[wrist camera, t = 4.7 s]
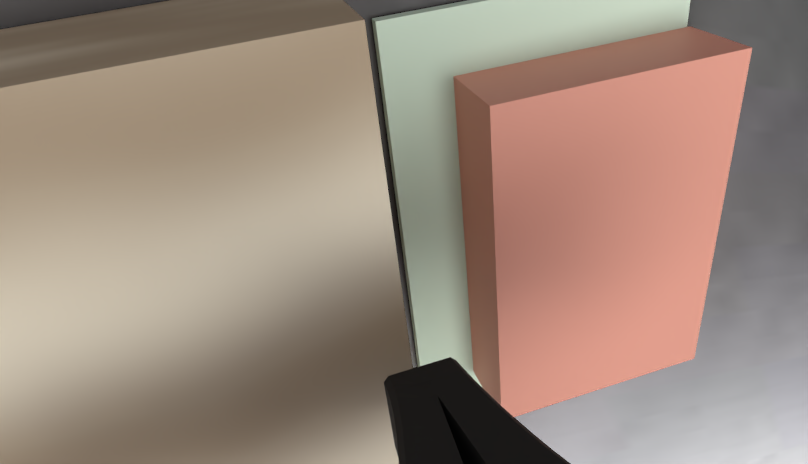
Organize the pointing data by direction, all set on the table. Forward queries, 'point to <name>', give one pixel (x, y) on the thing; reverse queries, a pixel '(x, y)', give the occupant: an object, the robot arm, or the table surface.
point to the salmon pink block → (593, 209)
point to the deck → (196, 239)
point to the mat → (437, 128)
